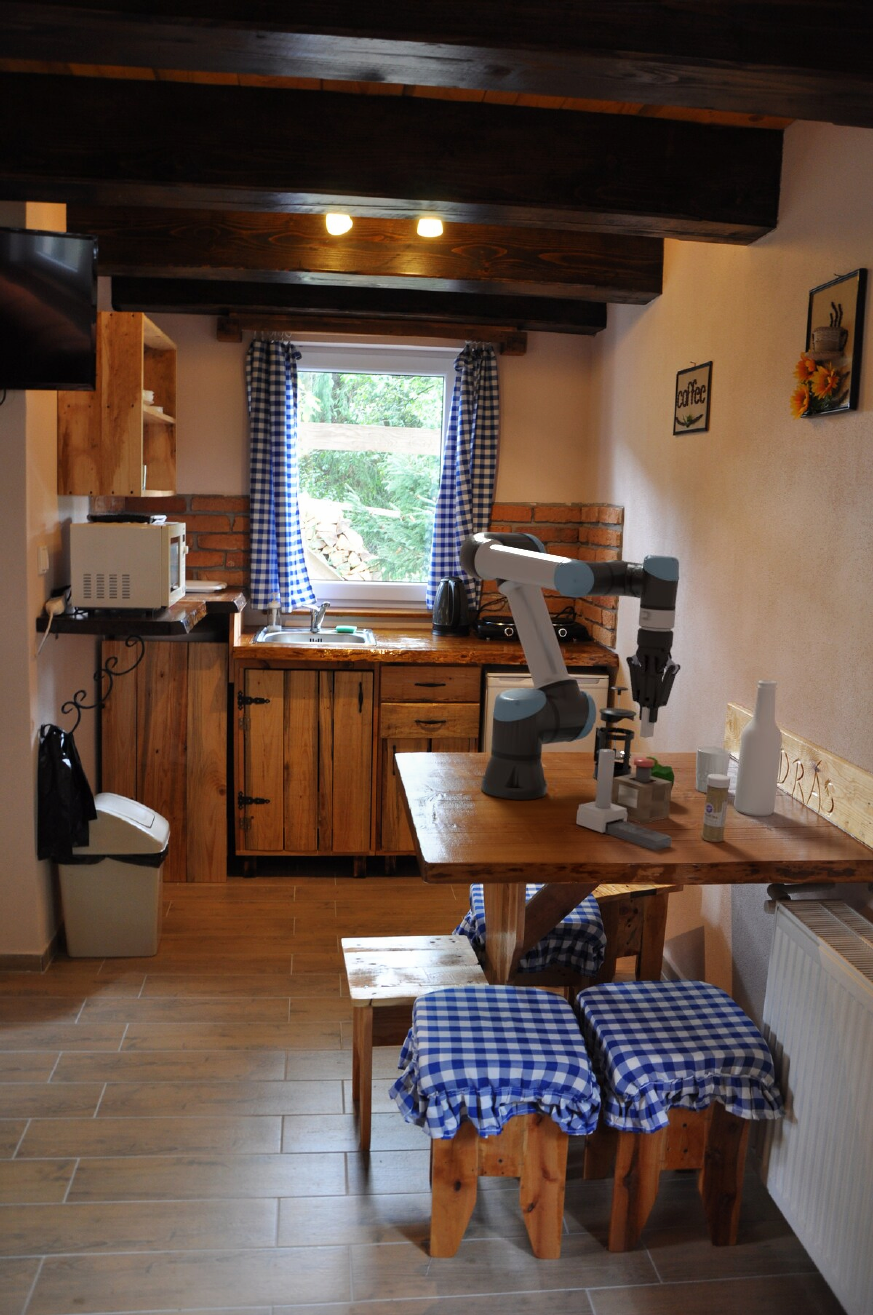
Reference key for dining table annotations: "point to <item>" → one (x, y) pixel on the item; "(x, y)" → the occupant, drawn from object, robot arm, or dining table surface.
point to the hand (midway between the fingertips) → (646, 736)
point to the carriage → (602, 797)
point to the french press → (615, 737)
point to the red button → (643, 769)
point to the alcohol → (759, 756)
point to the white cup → (710, 764)
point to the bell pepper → (662, 771)
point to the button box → (642, 797)
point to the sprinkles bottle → (715, 807)
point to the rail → (638, 834)
